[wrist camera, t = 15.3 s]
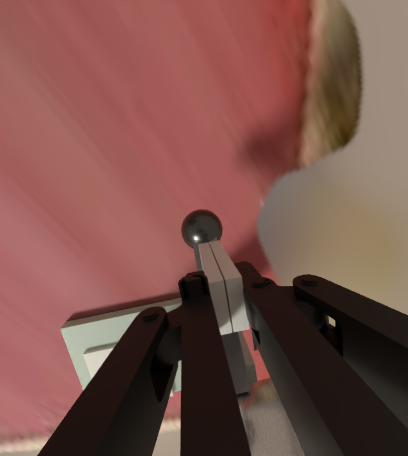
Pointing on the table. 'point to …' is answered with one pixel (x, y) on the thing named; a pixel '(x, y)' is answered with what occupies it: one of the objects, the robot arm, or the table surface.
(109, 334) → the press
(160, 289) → the table surface
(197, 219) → the lever
